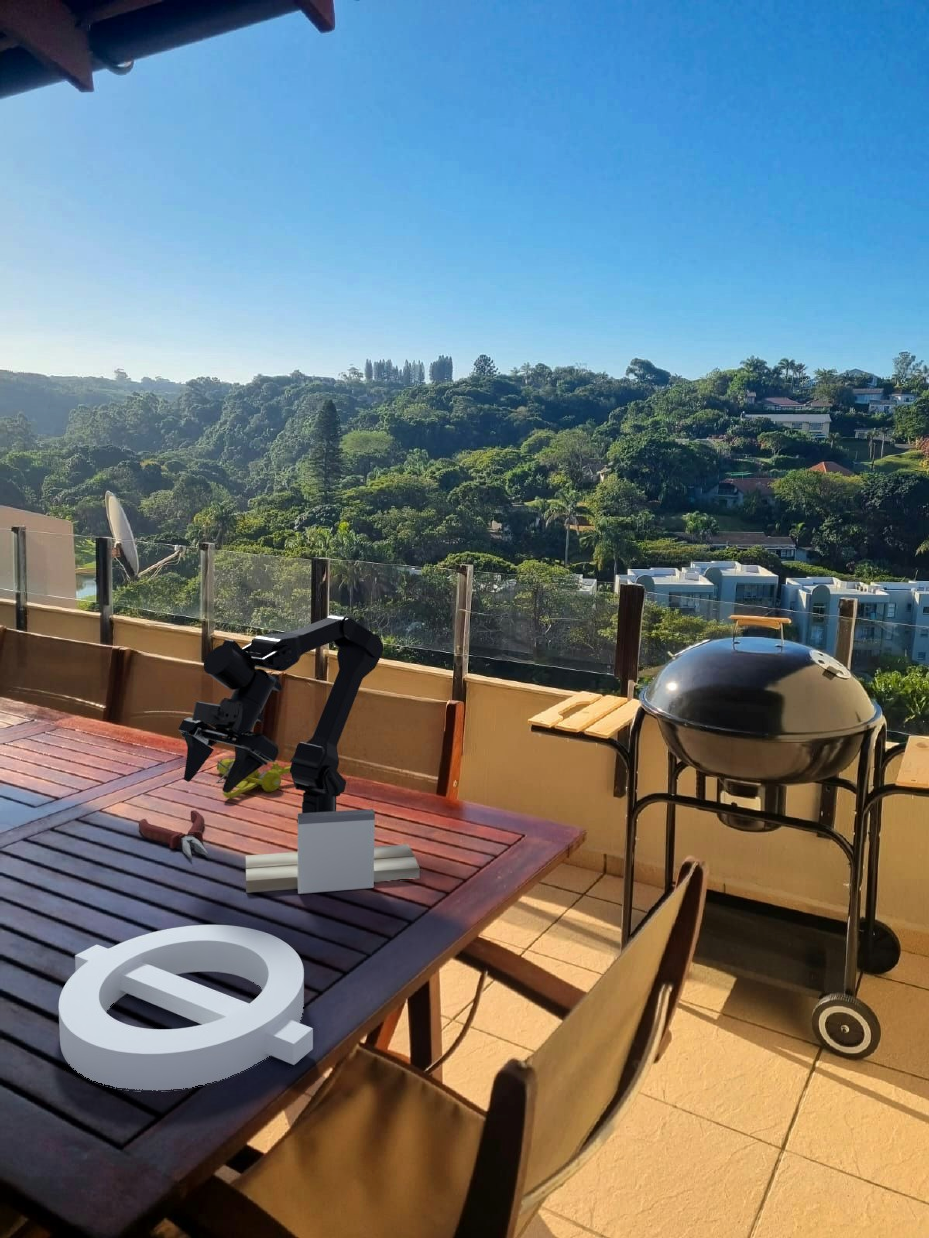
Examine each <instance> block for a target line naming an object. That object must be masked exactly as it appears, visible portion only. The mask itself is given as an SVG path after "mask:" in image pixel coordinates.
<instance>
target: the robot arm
mask: <svg viewBox="0 0 929 1238" xmlns="http://www.w3.org/2000/svg"><path fill="white" fill-rule="evenodd" d="M330 643H332V644H333V645H334V646H335V647H336V648H337V649H338V650H337V652H336V653H337V654H336V658H337V665H338V672H337V674H336V677H335V680H334V682H333V684H332V687H331V690H330V692H329V694H328V697H327V700H326V702H325V705H324V707H323V710H322V712H321V715H320V716H319V720H318V722H317V725H316V728H315V729H314V733H313V735H312V737H311V738H310V739H309V740H307V742H302V741H300V742H298V744H297V745H296V748H295V751H294V754H293V757H292V758H291V759H290V760H289V761H290V763H291V764H290V766H291V767H290V773H289V774H290V775H291V778H292V782H293V784H294V787H295V790H297V791H302V792H303V793H302V803H301V813H315V812H332V811H337V797H340V796H341V794H343V793H345V789H346V785H347V780H346V779H345V778H344V777H343V776H342V775H341V774H340V773H339V771H338V767H339V764H340V759H339V752H338V744H339V741H340V739H341V736H342V733H343V731H344V728H345V726H346V723H347V721H348V718H349V715H350V713H351V710H352V708H353V705H354V703H355V699H356V698H357V694H358V692H359V690H360V687H361V684H362V681H363V680H364V678H366V677H367V676H368V675H369V674H370V673H371V672H372V671H374V670H375V668H376V667H377V665H378V664H379V661H380V659H381V657H382V655H383V652H384V644H383V642H382V639H381V637H380V636H379V634H375V633H373V632H372V631H371V630H369V629H367V628H365V627H364V626H362V625H361V624H359V623H357V621H355V620H354V619H353V618H351V617H350V616H348V615H339V614H331V615H328V616H327V617H325V618H323V619H320V620H319V621H316V622H313V623H311V624H307V625H306V626H303V627H302V626H301V627H300V628H297V629H295V630H291V631H290V632H283V633H268V634H260V635H257V636H255V637H254V638H252V640H251V642H250V643H249V644H247V645H245V646H244V647H241V646H240V645H239V643H238V642H237V641H235V640H232V639H224V641H223V642H222V644H220V645H218V646H216V647H214V648H213V649H212V650H211V651H210V653H207V655H206V656H205V658H204V661H203V670H204V673H206V674H207V675H209V676H210V677H212V678H213V679H214V680H215V681H217V682H218V683H219V684H221V685H223V687H226V688H227V689H228V690H231V691H232V692H231V695H230V697H229V698H228V697H224V698H223V699H221V701H220V703H219V704H217V703H210V702H204V701H203V702H202V701H197V700H196V701H195V705H194V710H193V712H192V713H193V715H192V717H187V718H184V719H183V720H182V721H181V724H180V725H179V727H178V729H177V730H178V731H179V732H180V733H181V737H182V738H183V739H184V740H185V743H186V746H187V747H186V750H187V752H186V760H185V768H184V773H183V774H184V775H183V781H186V783H190V782H191V780H192V779H193V778H194V777H195V776H196V775H197V774H198V772H199V770H200V769H201V768H202V767H203V765H204V764H205V763H206V761H207V760H208V758H209V757H210V756H211V755H212V753H213V752H214V750H215V749H214V748H212V747H213V746H214V745H216V744H217V743H221V744H226V745H228V746H229V745H230V746H232V747H234V758H235V761H234V763H233V765H232V767H231V770H230V772H229V774H228V776H227V777H226V778H225V781H224V784H223V787H222V792H223V791H224V792H225V793H228V792H230V791H231V790H232V789H233V788H234V789H235V786H237V785H238V784H239V783H240V782H241V781H243V780H244V779H245V778H246V777H248V776H249V775H250V774H252V773H253V772H254V771H256V770H257V769H258V770H259V769H260V768H261V767H263V766H265V767H266V766H268V764H269V763H276V760H277V757H278V756H279V752H280V750H279V745H278V744H277V743H275V742H274V741H273V740H271V739H269V738H268V737H267V736H266V735H264V734H262V733H258V732H253V729H254V727H255V726H256V722H261V723H262V722H263V720H264V718H265V716H264V715H263V714H261V713H262V710H263V709H264V706H265V704H266V703H267V701H268V698H269V696H270V694H271V692H272V690H273V691H278V692H281V691H282V690H283V686H282V684H281V683H282V682H281V681H280V676H279V675H276V674H271V673H268V672H267V671H266V670H272V671H277V672H285V671H287V670H289V669H290V668H292V667H293V666H294V665H296V664H297V663H298V662H299V661H300V659H301V657H302V656H303V655H305V654H306V653H309V652H311V651H314V650H316V649H319V648H320V647H323V646H326V645H328V644H330ZM264 669H266V670H264ZM266 761H270V762H266ZM234 789H233V790H234ZM233 790H232V791H233ZM296 823H297V824H298V818H297V819H296Z"/></svg>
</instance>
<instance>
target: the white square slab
mask: <svg viewBox="0 0 929 1238" xmlns="http://www.w3.org/2000/svg"><path fill="white" fill-rule="evenodd" d="M297 819H298V823H297V852H298V885H297V888H298V889H297V894H299V895H300V894H301V895H302V894H312V893H313V894H314V893H325V892H336V891H337V892H339V891H348V890H349V891H350V890H351V891H352V890H362V889H363V890H364V889H372V888H373V889H374V888H375V887H374V886H375V885H374V884H375V883H374V847H375V832H376V831H375V826H376V813H375V811H374V808H367V809H355V810H354V809H352V810H349V809H348V810H336V811H332V812H315V813H302V812H301V813H300V812H299V813H297Z"/></svg>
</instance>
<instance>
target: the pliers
mask: <svg viewBox="0 0 929 1238" xmlns="http://www.w3.org/2000/svg"><path fill="white" fill-rule="evenodd" d="M190 821H192V822H193V824H192V825H191V827H190V828H189V830H188V831H187V834H186V835H185V833H183V832H178V831H174V830H169V829H167V828H162V827H158V826H155V825H152V824H150V823H149V822H148V821H147V819H146V818H142V819H141V820H140V821H139V822H138V829H139V831H140V833H141V834H142V836H144V838H147V839H150V840H154V841H157V842H161V843H165V844H169V849H175V848H182V852H183V853H184V854H185V855H186V856H187V857H188V858H189V859H190V860H193V855H192V852H191V851H192V850H191V849H194V852H196V853H198V854H201V855H205V856H209V853H208V851H207V850H206V848H205V847H204V846H203V840H204V839H203V835H204V833H203V832H202V831H203V829H204V826H205V817H203V815H202V814H201V813H200V812H199V811H197V810H194V809H193V810H191V811H190Z"/></svg>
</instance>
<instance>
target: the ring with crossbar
mask: <svg viewBox="0 0 929 1238" xmlns="http://www.w3.org/2000/svg"><path fill="white" fill-rule="evenodd" d="M74 960H75V961H74V962H75V963H74V964H75V972H74V973H73V974H72V975H71V976H70V977H69V978H68V980H66V983H65V985H64V986H63V988H62V989H61V992H60V996H59V1000H58V1022H59V1023H58V1024H59V1026H58V1027H59V1045H60V1047H59V1048H60V1050H61V1054H62V1055H63V1058H64V1059H65V1061H66V1063H67V1064H68V1065H69V1064H70V1065H69V1066H70V1067H71V1068H72V1069H73V1068H74V1069H73V1070H74V1071H75V1070H76V1071H77V1072H76V1071H75V1072H76V1073H78V1074H79V1073H80V1074H82V1075H83V1076H84V1077H83V1076H82V1075H81V1076H82V1077H83V1078H85V1077H86V1078H85V1079H87V1078H89V1079H90V1080H89V1079H88V1080H89V1081H91V1080H92V1082H93V1081H96V1082H98V1083H102V1084H103V1085H102V1086H104V1084H105V1085H110V1086H113V1087H115V1088H114V1089H116V1087H117V1088H126V1089H127V1088H128V1089H135V1090H136V1089H137V1090H139V1089H140V1090H142V1089H143V1090H152V1091H153V1090H156V1091H158V1090H171V1089H172V1090H173V1089H182V1090H186V1089H185V1088H188V1089H193V1088H192V1087H194V1088H196V1087H195V1086H198V1085H203V1086H206V1085H205V1084H207V1083H211V1084H213V1083H212V1082H214V1081H217V1082H220V1080H221V1081H223V1080H222V1079H224V1080H226V1079H229V1078H231V1077H230V1076H232V1075H234V1074H237V1073H239V1074H241V1073H242V1072H241V1071H244V1070H246V1069H248V1068H250V1067H252V1066H253V1065H254V1064H257V1063H258V1062H260V1061H262V1060H264V1059H265V1060H267V1059H268V1058H270V1057H273V1058H276V1059H278V1060H281V1061H283V1062H286V1063H288V1064H291V1065H293V1066H295V1065H296V1064H297V1063H298V1062H300V1060H301V1059H303V1058H304V1057H305V1056H306V1055H308V1054H309V1053H310V1052H311V1051H312V1050H313V1049H314V1028H313V1027H311V1026H307V1025H306V1024H303V1023H301V1021H302V1018H303V1015H302V1013H303V1014H304V1009H303V1007H305V1005H304V1004H305V998H304V996H305V993H304V992H305V982H304V981H305V972H304V971H305V968H304V964H303V961H302V959H301V957H300V955H299V954H298V953H297V952H296V950H295V949H294V948H293V947H292V946H290V945H289V944H288V943H287V942H285V940H284V941H283V940H282V939H280V938H279V937H277V936H275V935H273V934H270V933H266V932H265V931H262V930H257V929H253V928H249V927H243V926H236V925H227V924H198V925H186V926H185V925H184V926H178V927H171V928H167V929H162V930H157V931H153V932H152V931H151V932H149V933H147V934H142V935H139V936H136V937H133V938H130V939H128V940H127V939H126V940H125V941H123V942H120V943H117V944H116V945H114V946H112V947H109V948H107V947H105V946H102V945H99V944H95V945H93V946H91V947H88V948H87V949H85V950H83V951H81V952H78V953H77V954H75V955H74ZM197 972H211V973H215V972H216V973H223V974H230V975H234V976H236V977H241V978H243V979H245V980H247V981H250V982H252V983H253V982H254V983H253V984H255V985H256V986H257V985H259V986H260V987H261V988H260V987H259V986H258V987H259V988H260V989H261V991H260V993H259V995H258V996H256V998H254V999H253V1000H252V1001H251V1002H250V1003H249V1002H246V1001H244V1000H241V999H238V998H236V997H233V996H230V995H228V994H225V993H223V992H220V991H218V990H215V989H213V988H210V987H207V986H205V985H203V984H200V983H197V982H195V981H192V980H189V979H187V978H185V977H182V976H179V975H180V974H189V973H197ZM127 994H128V995H130V996H134V997H135V998H137V999H140V1000H143V1001H145V1002H147V1003H150V1004H152V1005H155V1006H157V1007H159V1008H162V1009H164V1010H167V1011H168V1012H172V1013H174V1014H177V1015H179V1016H181V1017H184V1018H186V1019H188V1020H190V1021H192V1022H196V1023H198V1024H199V1025H193V1026H188V1027H181V1028H171V1029H170V1028H169V1029H167V1028H166V1029H163V1028H162V1029H159V1028H158V1029H157V1028H155V1029H154V1028H145V1027H138V1026H134V1025H130V1024H127V1023H125V1022H121V1021H119V1020H117V1019H116V1018H113V1017H112V1016H110V1014H108V1013H107V1012H108V1011H109V1010H110V1009H111V1007H112V1006H113V1005H114V1004H116V1002H118V1001H119V1000H120V999H121V998H122V997H124V996H125V995H127ZM113 1003H114V1004H113ZM112 1004H113V1005H112ZM111 1005H112V1006H111ZM110 1006H111V1007H110ZM107 1010H108V1011H107ZM301 1017H302V1018H301ZM300 1020H301V1021H300ZM269 1056H270V1057H269ZM267 1057H268V1058H267ZM266 1058H267V1059H266ZM265 1060H264V1061H265ZM262 1062H263V1061H262ZM257 1065H258V1064H257ZM252 1068H253V1067H252ZM250 1069H251V1068H250ZM248 1070H249V1069H248ZM246 1071H247V1070H246ZM240 1072H241V1073H240ZM244 1072H245V1071H244ZM80 1074H79V1075H80ZM237 1075H238V1074H237ZM234 1076H235V1075H234ZM228 1077H229V1078H228ZM232 1077H233V1076H232ZM225 1078H226V1079H225ZM96 1082H95V1083H96ZM98 1083H97V1084H98ZM214 1083H215V1082H214ZM207 1085H208V1084H207ZM198 1087H199V1086H198ZM183 1088H184V1089H183Z"/></svg>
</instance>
